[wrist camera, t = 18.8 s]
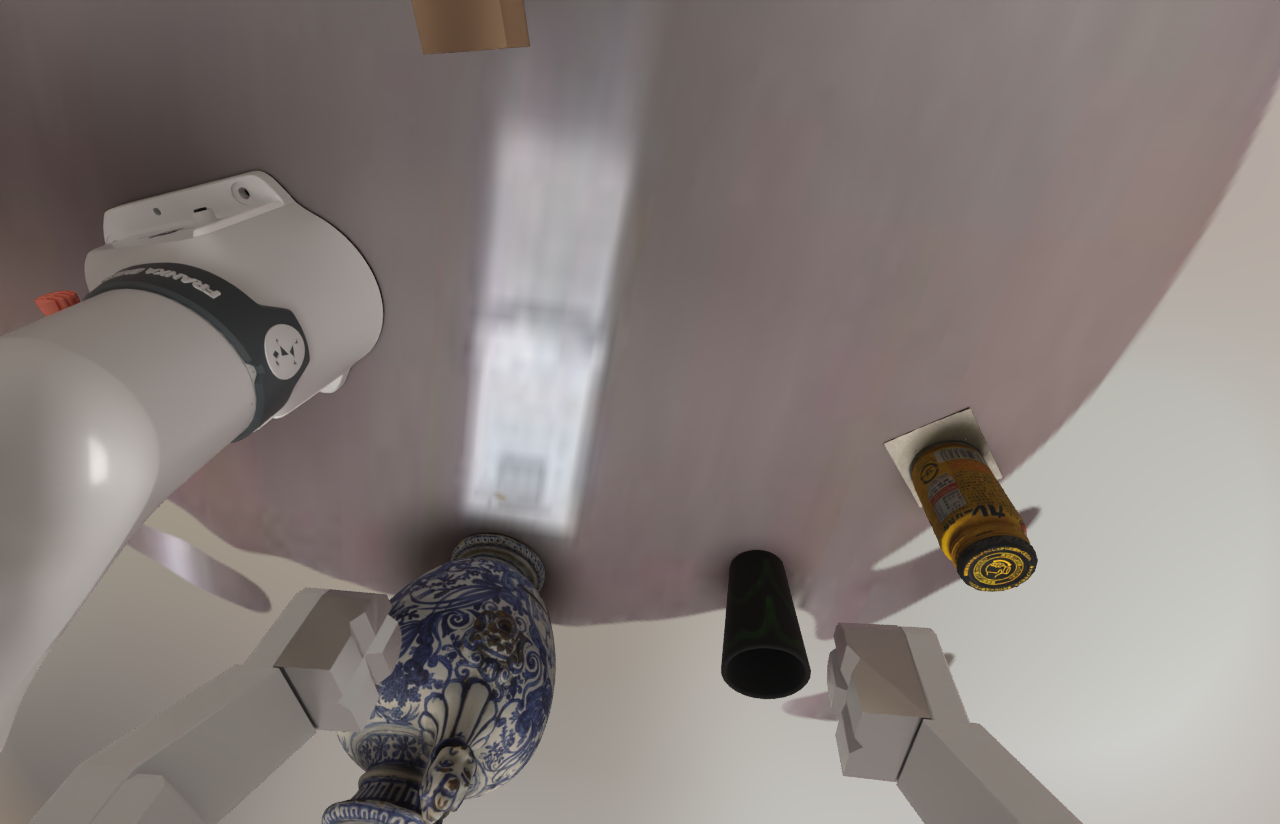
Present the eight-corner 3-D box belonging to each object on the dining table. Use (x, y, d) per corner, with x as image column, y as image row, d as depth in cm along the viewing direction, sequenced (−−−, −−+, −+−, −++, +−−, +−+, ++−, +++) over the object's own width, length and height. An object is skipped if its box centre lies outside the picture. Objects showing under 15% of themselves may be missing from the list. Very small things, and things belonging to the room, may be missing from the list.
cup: (746, 603, 64) (753, 708, 54) (705, 562, 62) (703, 664, 52) (808, 576, 61) (828, 682, 51) (767, 531, 58) (779, 634, 48)
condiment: (919, 506, 55) (966, 612, 45) (883, 442, 52) (924, 540, 42) (1001, 476, 52) (1071, 581, 42) (969, 406, 49) (1035, 502, 39)
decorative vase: (525, 650, 73) (432, 941, 49) (389, 578, 69) (215, 859, 45) (622, 556, 62) (564, 867, 39) (468, 465, 58) (298, 752, 34)
